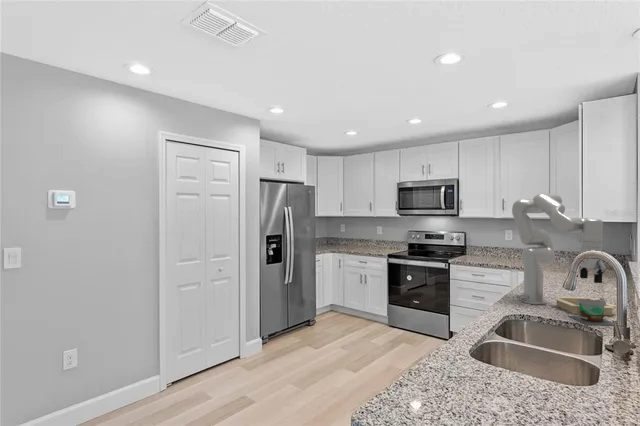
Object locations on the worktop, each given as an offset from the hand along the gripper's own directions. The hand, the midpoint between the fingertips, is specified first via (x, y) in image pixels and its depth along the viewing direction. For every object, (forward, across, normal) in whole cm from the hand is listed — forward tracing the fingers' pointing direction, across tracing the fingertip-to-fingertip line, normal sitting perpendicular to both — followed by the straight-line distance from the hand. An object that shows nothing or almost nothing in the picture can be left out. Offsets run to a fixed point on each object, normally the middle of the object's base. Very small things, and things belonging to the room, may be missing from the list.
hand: (590, 280), depth 169 cm
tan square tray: (+20, -18, +8) cm, 28 cm away
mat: (+19, +2, 0) cm, 19 cm away
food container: (+19, +3, +1) cm, 19 cm away
